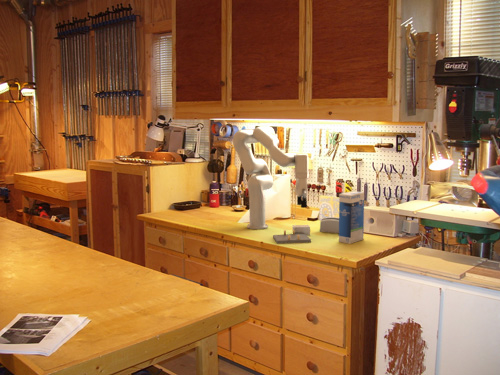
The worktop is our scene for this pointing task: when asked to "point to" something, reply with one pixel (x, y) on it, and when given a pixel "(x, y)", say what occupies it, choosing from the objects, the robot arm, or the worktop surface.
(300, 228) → the block
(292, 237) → the gray peg board
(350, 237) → the string lights box
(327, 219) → the grey rounded block
